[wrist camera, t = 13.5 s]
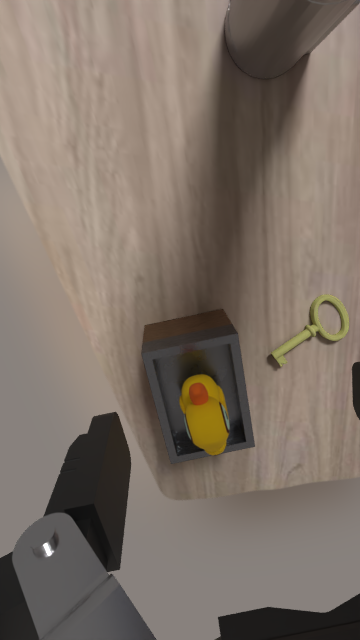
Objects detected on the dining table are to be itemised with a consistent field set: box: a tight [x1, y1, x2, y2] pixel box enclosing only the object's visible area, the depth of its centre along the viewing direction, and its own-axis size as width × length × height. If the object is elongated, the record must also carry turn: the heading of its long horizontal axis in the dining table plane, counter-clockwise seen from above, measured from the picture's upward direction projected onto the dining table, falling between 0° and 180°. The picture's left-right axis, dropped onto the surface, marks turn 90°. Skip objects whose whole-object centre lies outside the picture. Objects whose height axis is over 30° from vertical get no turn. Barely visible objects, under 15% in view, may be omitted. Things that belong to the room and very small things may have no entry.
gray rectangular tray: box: [141, 309, 255, 464], centre depth 43 cm, size 11×16×9 cm
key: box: [271, 295, 349, 367], centre depth 46 cm, size 7×12×2 cm, turn 143°
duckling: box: [179, 374, 230, 455], centre depth 36 cm, size 11×5×10 cm, turn 16°
